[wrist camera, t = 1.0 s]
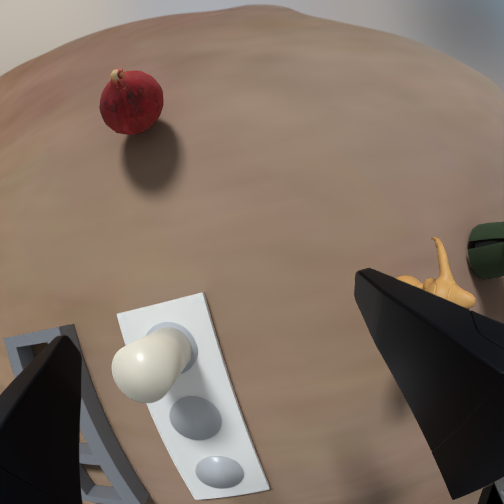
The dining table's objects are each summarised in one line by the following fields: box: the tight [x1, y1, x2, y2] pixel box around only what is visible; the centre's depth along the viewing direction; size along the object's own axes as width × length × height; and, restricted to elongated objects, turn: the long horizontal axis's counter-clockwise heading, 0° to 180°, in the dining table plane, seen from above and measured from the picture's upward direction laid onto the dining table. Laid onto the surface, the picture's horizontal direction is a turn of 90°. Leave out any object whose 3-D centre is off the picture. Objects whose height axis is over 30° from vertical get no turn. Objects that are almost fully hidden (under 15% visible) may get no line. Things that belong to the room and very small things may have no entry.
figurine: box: [396, 237, 476, 309], centre depth 16 cm, size 8×6×12 cm
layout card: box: [112, 292, 270, 500], centre depth 17 cm, size 20×8×8 cm, turn 16°
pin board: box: [4, 324, 149, 504], centre depth 18 cm, size 20×9×2 cm, turn 16°
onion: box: [99, 69, 163, 135], centre depth 20 cm, size 6×6×8 cm
